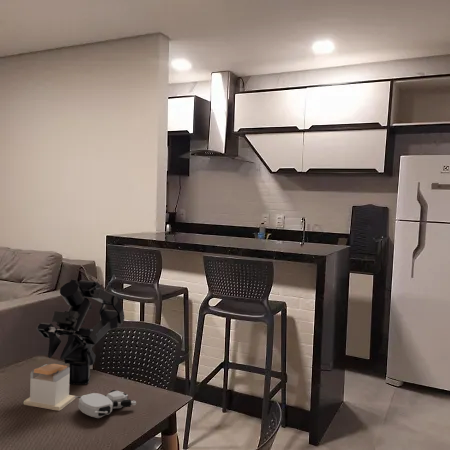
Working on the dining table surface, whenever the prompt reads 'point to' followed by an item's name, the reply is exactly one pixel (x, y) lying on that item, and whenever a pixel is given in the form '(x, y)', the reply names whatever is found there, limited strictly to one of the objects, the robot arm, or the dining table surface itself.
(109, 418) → the dining table surface
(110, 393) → the robot toy
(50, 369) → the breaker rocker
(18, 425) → the dining table surface
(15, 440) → the dining table surface
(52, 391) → the box
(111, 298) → the robot arm
